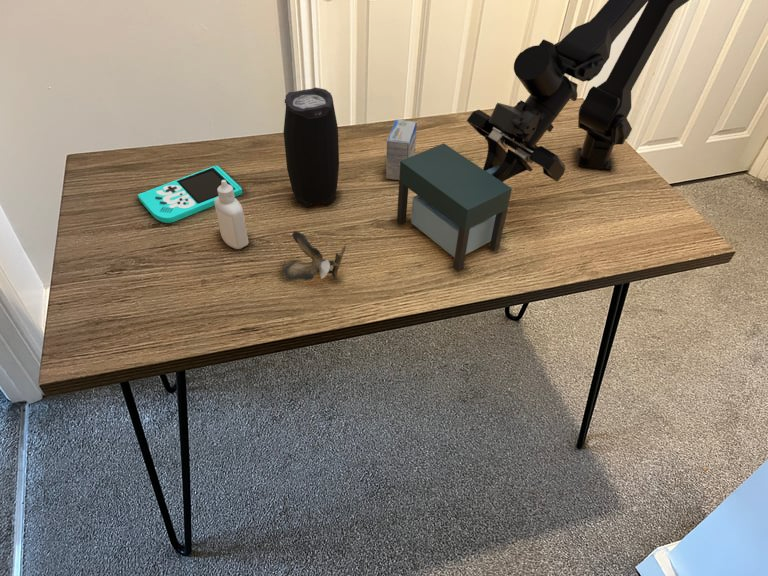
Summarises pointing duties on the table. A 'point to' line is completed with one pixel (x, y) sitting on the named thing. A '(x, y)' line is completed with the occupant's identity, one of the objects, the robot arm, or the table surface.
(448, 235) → the drawer
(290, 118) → the portable speaker
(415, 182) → the cabinet
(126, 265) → the table surface
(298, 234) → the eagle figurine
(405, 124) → the medicine box
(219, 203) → the eye dropper bottle
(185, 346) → the table surface
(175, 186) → the handheld game console
